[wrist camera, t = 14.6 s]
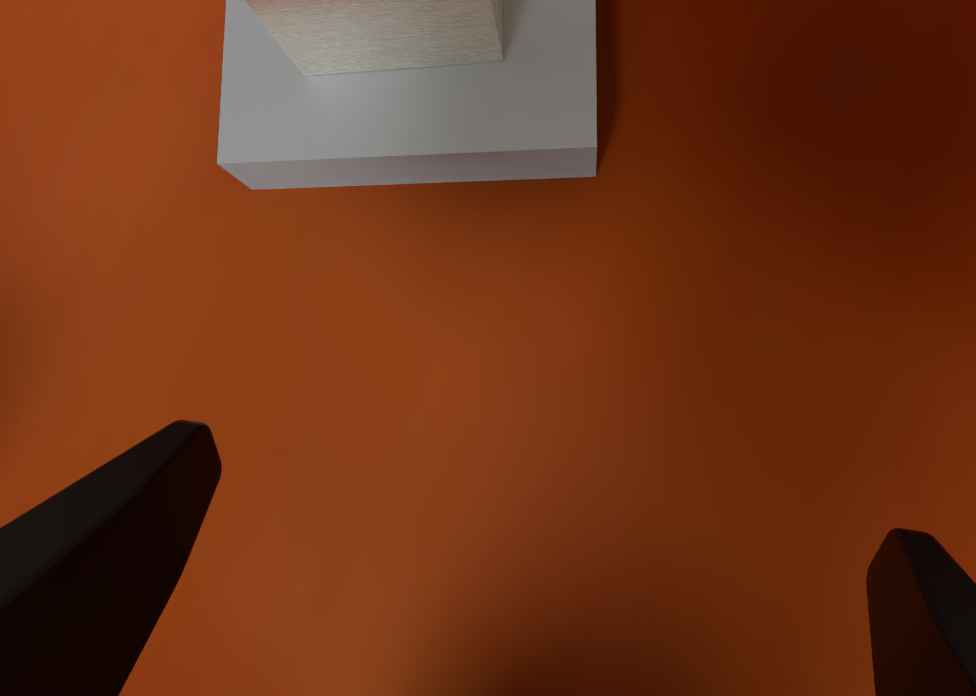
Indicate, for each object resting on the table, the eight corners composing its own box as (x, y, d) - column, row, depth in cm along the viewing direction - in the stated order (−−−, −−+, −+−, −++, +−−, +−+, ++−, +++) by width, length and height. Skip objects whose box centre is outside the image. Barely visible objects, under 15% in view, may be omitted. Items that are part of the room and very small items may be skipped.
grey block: (595, 181, 24) (597, 147, 22) (258, 194, 26) (217, 163, 23) (592, -142, 26) (593, -216, 23) (273, -111, 28) (236, -177, 25)
